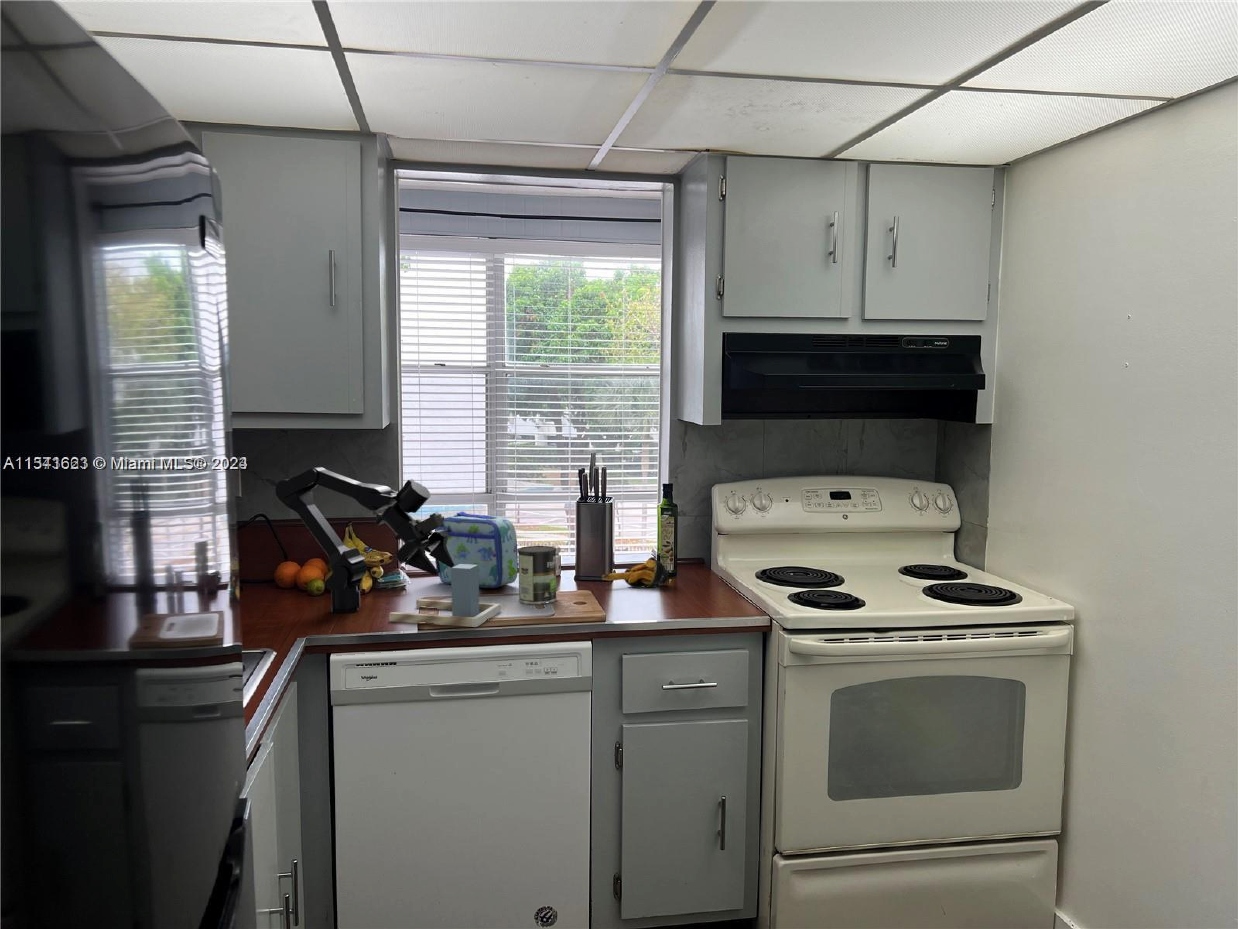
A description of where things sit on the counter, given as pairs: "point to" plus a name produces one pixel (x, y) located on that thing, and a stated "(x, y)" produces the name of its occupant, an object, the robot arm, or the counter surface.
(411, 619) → the wooden picture frame
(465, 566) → the slate block
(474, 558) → the lunch box
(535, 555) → the coffee can
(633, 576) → the yellow lumpy two-tone part
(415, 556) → the robot arm
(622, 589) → the counter surface
